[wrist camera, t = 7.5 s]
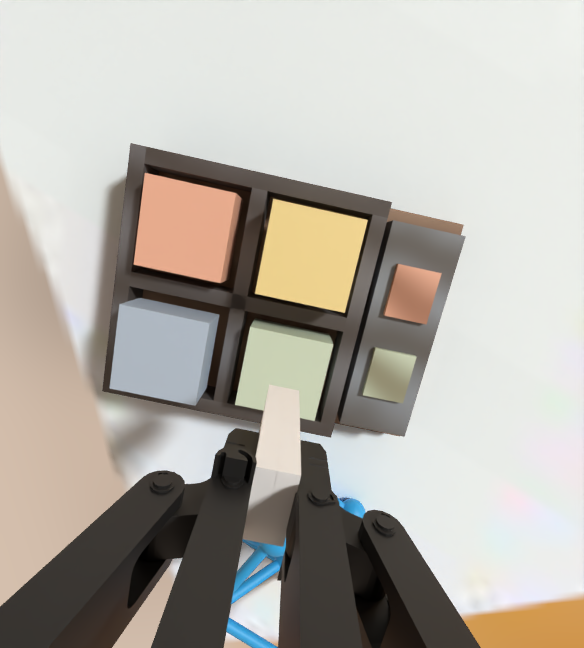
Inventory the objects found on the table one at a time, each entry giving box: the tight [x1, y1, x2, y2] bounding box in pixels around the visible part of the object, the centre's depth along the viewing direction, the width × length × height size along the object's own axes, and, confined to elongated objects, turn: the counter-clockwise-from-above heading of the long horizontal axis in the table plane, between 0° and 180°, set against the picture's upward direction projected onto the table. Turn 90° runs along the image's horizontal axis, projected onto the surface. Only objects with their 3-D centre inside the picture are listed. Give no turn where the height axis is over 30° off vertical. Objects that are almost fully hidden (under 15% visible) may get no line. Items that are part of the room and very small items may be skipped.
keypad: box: [103, 143, 465, 437], centre depth 27 cm, size 17×23×4 cm
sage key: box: [235, 318, 333, 421], centre depth 26 cm, size 6×6×3 cm
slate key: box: [110, 298, 219, 406], centre depth 24 cm, size 6×6×3 cm
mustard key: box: [255, 199, 368, 313], centre depth 23 cm, size 6×6×3 cm
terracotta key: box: [134, 173, 243, 283], centre depth 24 cm, size 6×6×3 cm
